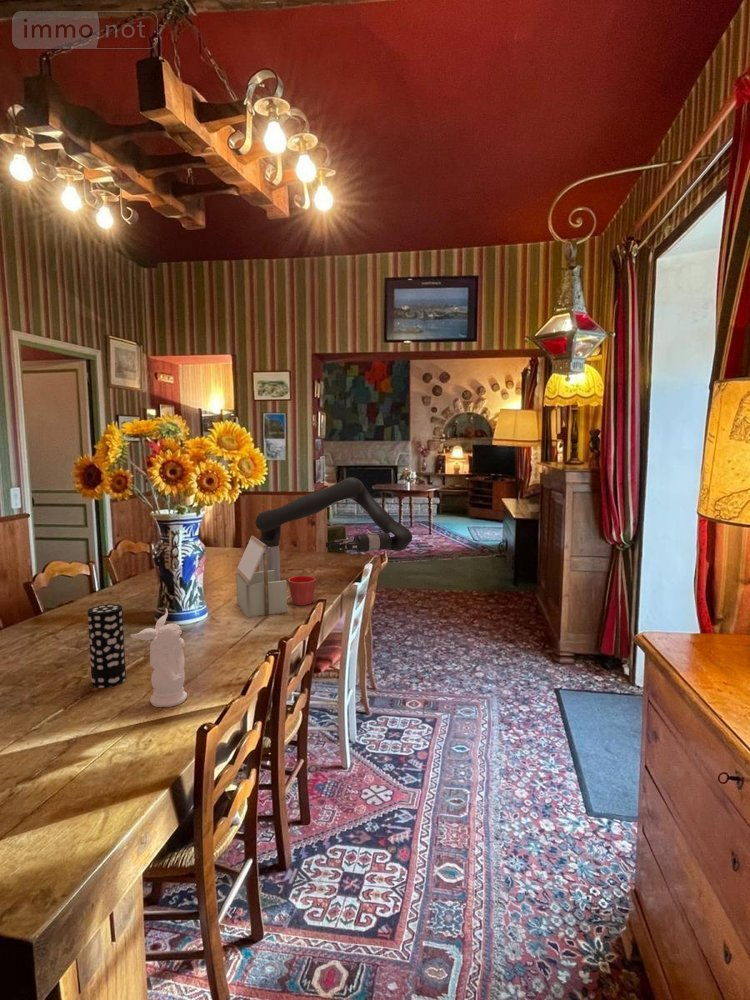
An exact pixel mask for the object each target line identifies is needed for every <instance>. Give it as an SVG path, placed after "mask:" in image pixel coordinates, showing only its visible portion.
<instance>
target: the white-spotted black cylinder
mask: <svg viewBox="0 0 750 1000" xmlns="http://www.w3.org/2000/svg"><path fill="white" fill-rule="evenodd" d="M87 623H88V640H89V641H88V642H89V658H90V659H89V661H90V674H91V675H90V676H91V686H92V687H94V688H98V689H106V688H111V687H116V686H119V685H121V684H122V683H125V681H126V680H127V672H126V669H127V668H126V667H127V666H126V654H125V650H126V649H125V636H124V634H125V633H124V615H123V606H122V605H120V604H118V603H117V604H116V603H115V604H114V603H110V604H109V603H108V604H102V605H100V604H99V605H97V606H93V607H90V608H89V609H88V610H87Z"/></svg>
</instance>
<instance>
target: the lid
mask: <svg viewBox="0 0 750 1000" xmlns="http://www.w3.org/2000/svg"><path fill="white" fill-rule="evenodd" d="M249 538H250V539H249V541H248V543H247V544H246V548H245V550H244V551H243V554H242V556H241V559H240V561H239V563H238V566H237V567H236V569H235V571H236V572H237V574H240V575H241V576H242V577H243V578H244V580H245V581H246V582H247V583H249V584H250V583H251V580H252V578H253V575H254V573H255V572H257V571H256V570H257V568H258V566H259V562H260V560H261V557H262V555H263V553H264V550H265V549H266V547H267V545H265V544H264V543H262V542H261V541H259V539H258V538H256V537H255V536H254V535H250V537H249Z"/></svg>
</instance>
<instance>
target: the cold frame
mask: <svg viewBox="0 0 750 1000" xmlns="http://www.w3.org/2000/svg"><path fill="white" fill-rule="evenodd" d="M235 577H236V578H235V579H236V603H238V604H237V605H238V607H239V606H240V607H239V608H240V609H241V611H242V610H243V611H242V612H243V613H244V615H245V616H246V617H247V618H252V617H251V616H254V617H259V616H258V615H262V616H265V596H264V571H261V572H260V571H255V573H254V575H253V578H252V580H251V583H250V584H249V583H247V582H246V581H245V580H244V578H243V577H242V576H241V575H240V574H239V573H236V576H235ZM287 582H288V580H280V581H275V580H274V570H271V571H268V601H269V614H270V615H275V613H277V614H283V613H284V612H285V613H288V587H287V584H288V583H287Z"/></svg>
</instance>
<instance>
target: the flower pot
mask: <svg viewBox="0 0 750 1000" xmlns="http://www.w3.org/2000/svg"><path fill="white" fill-rule="evenodd" d="M316 580H317V578H316V577H314V576H310V575H296V576H292V577H290V578H288V580H287V582H288V583H287V584H288V588H289V593H290V597H291V601H292V604H293V605H295V604H296V606H306V605H310V604H312V603H313V599H314V595H315V594H314V593H315V588H316Z"/></svg>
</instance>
